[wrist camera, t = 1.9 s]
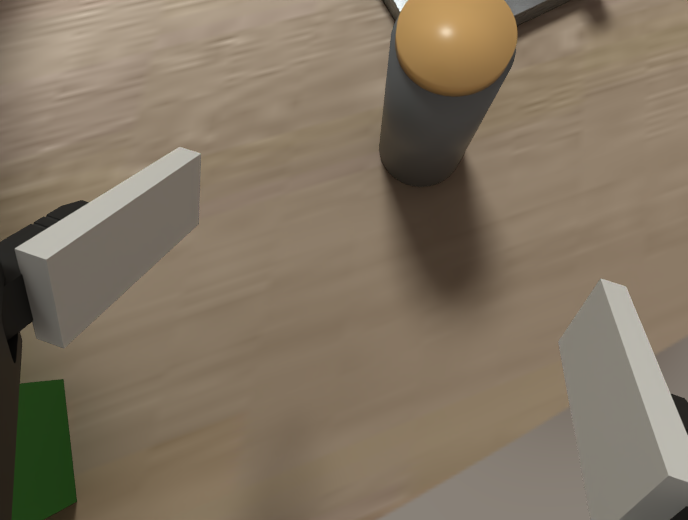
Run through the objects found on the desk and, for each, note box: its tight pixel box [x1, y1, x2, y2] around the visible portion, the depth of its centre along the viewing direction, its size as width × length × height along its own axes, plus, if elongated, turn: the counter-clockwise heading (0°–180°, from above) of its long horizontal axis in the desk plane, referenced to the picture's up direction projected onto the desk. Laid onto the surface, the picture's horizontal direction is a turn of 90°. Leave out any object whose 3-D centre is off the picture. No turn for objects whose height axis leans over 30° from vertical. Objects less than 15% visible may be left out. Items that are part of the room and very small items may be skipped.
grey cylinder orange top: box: [379, 0, 517, 187], centre depth 26 cm, size 6×6×12 cm
